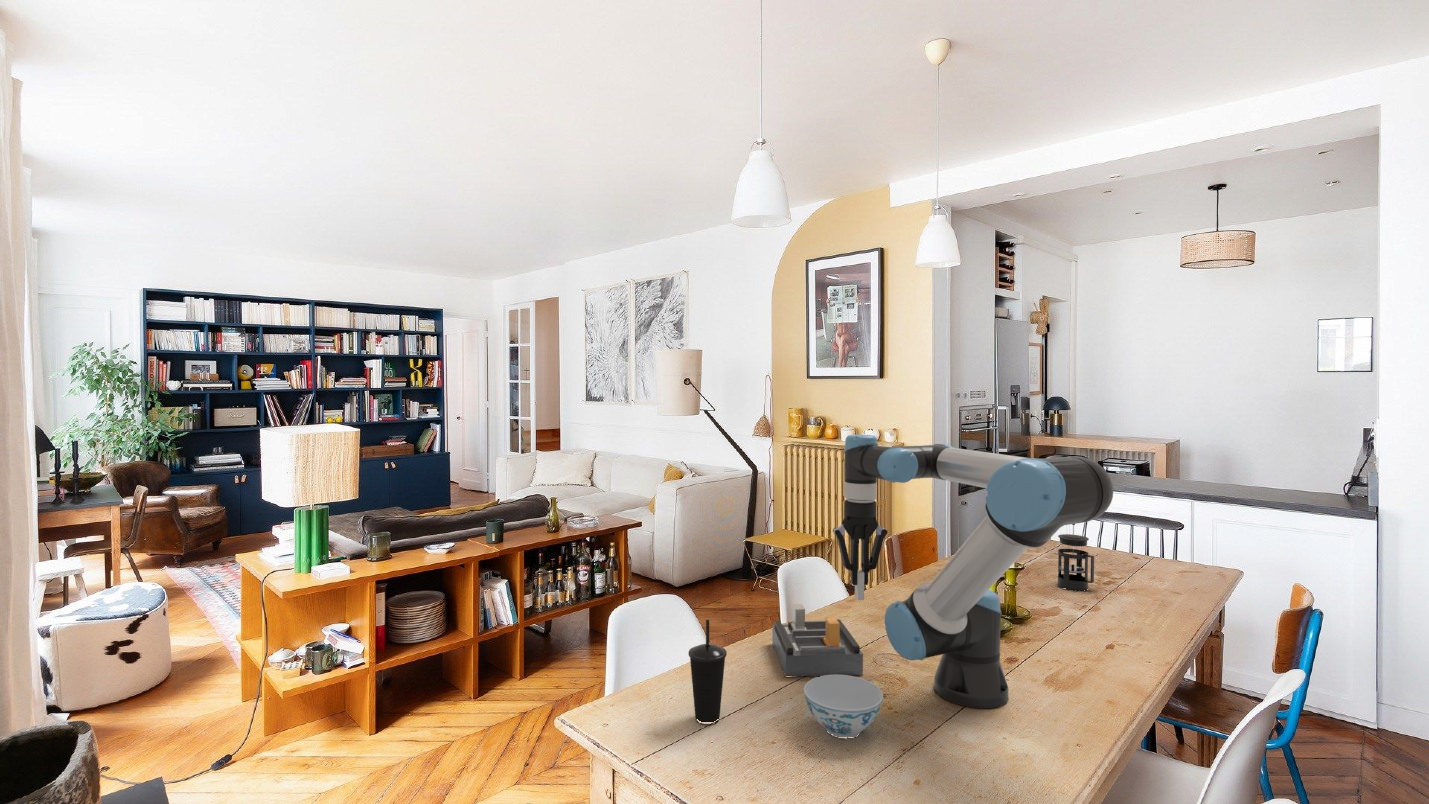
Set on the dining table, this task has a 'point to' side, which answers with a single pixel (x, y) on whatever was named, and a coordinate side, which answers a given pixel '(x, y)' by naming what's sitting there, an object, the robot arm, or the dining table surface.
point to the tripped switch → (832, 632)
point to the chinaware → (843, 703)
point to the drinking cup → (707, 678)
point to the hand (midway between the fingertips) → (859, 598)
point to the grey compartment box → (814, 648)
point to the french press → (1073, 580)
